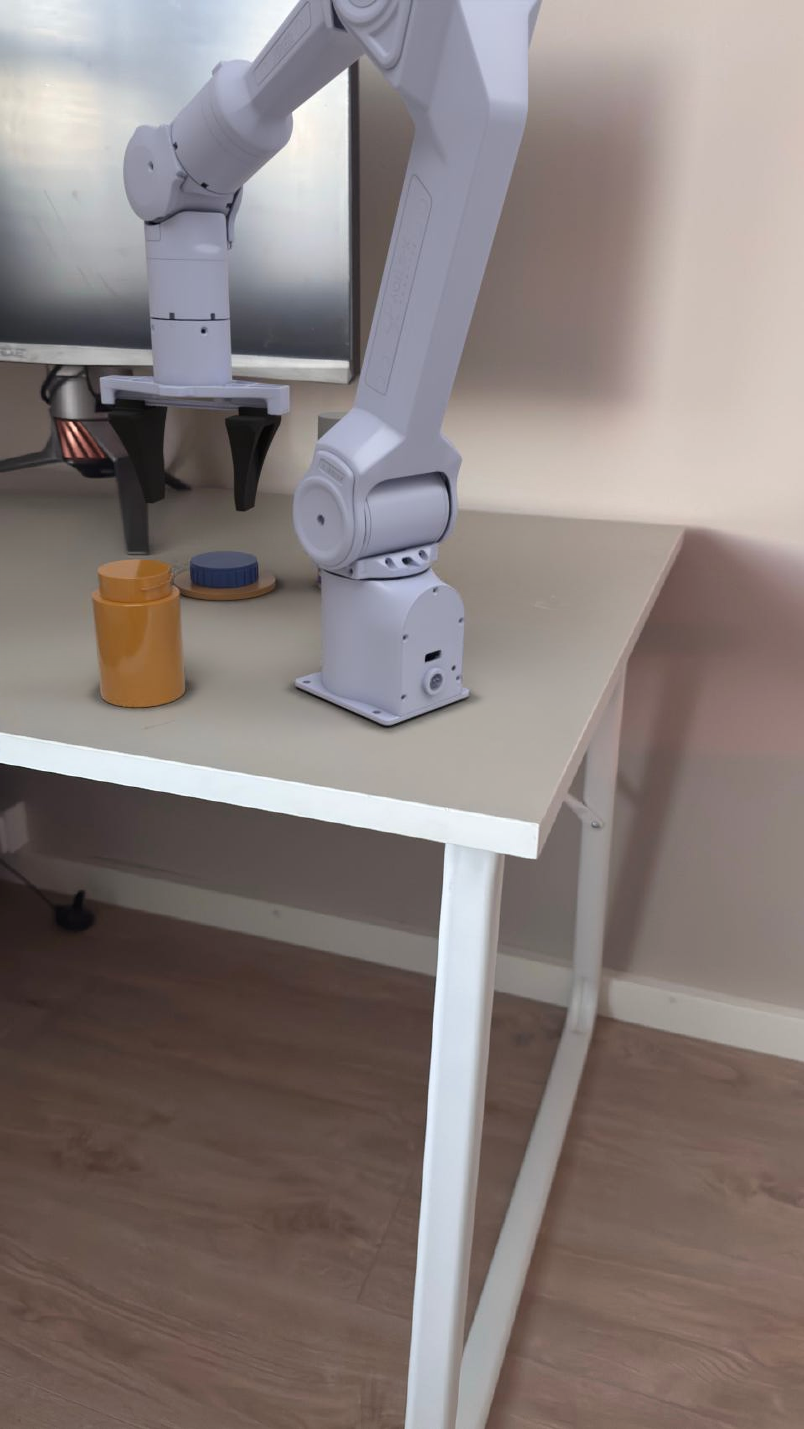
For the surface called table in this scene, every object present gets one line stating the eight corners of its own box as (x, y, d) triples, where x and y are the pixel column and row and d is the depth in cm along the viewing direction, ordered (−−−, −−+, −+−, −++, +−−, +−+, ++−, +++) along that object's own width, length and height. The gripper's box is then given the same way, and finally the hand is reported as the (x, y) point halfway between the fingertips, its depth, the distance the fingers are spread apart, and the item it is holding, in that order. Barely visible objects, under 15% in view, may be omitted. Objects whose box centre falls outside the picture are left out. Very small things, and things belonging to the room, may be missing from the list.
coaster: (296, 587, 96) (296, 580, 96) (212, 607, 90) (212, 600, 90) (235, 566, 102) (235, 560, 102) (154, 583, 96) (153, 577, 96)
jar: (202, 693, 73) (195, 569, 69) (129, 714, 69) (119, 585, 66) (155, 670, 76) (147, 552, 73) (85, 690, 73) (72, 567, 69)
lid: (237, 566, 100) (236, 547, 99) (271, 581, 95) (270, 562, 95) (178, 576, 96) (177, 556, 96) (211, 592, 92) (210, 572, 91)
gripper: (71, 317, 76) (89, 507, 82) (262, 325, 73) (267, 523, 78) (121, 313, 82) (134, 490, 88) (298, 320, 79) (301, 504, 84)
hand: (199, 504), depth 83 cm, fingers open, 7 cm apart
